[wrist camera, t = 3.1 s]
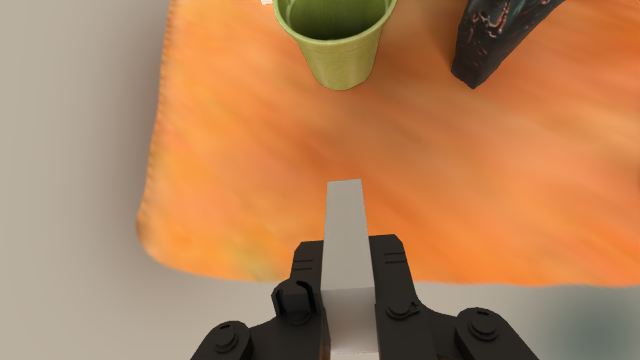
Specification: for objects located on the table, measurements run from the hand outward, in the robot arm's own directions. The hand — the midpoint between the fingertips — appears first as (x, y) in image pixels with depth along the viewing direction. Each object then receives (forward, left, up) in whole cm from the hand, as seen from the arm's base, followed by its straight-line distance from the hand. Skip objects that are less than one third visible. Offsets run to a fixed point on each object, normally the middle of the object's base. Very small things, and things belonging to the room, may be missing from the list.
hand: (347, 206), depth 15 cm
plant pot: (0, -17, -13) cm, 22 cm away
